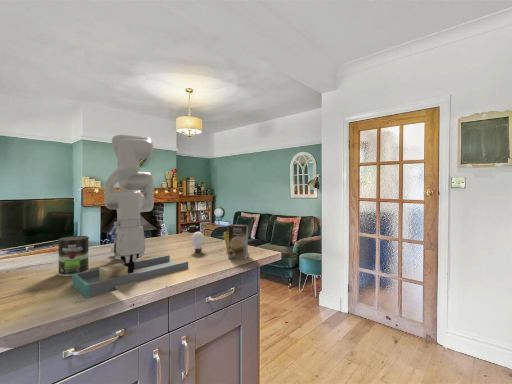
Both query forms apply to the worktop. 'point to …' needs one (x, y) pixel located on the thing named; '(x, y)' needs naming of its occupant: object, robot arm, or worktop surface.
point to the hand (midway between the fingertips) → (129, 272)
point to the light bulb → (198, 241)
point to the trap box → (148, 268)
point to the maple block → (112, 271)
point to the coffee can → (73, 255)
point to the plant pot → (226, 239)
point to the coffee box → (238, 241)
